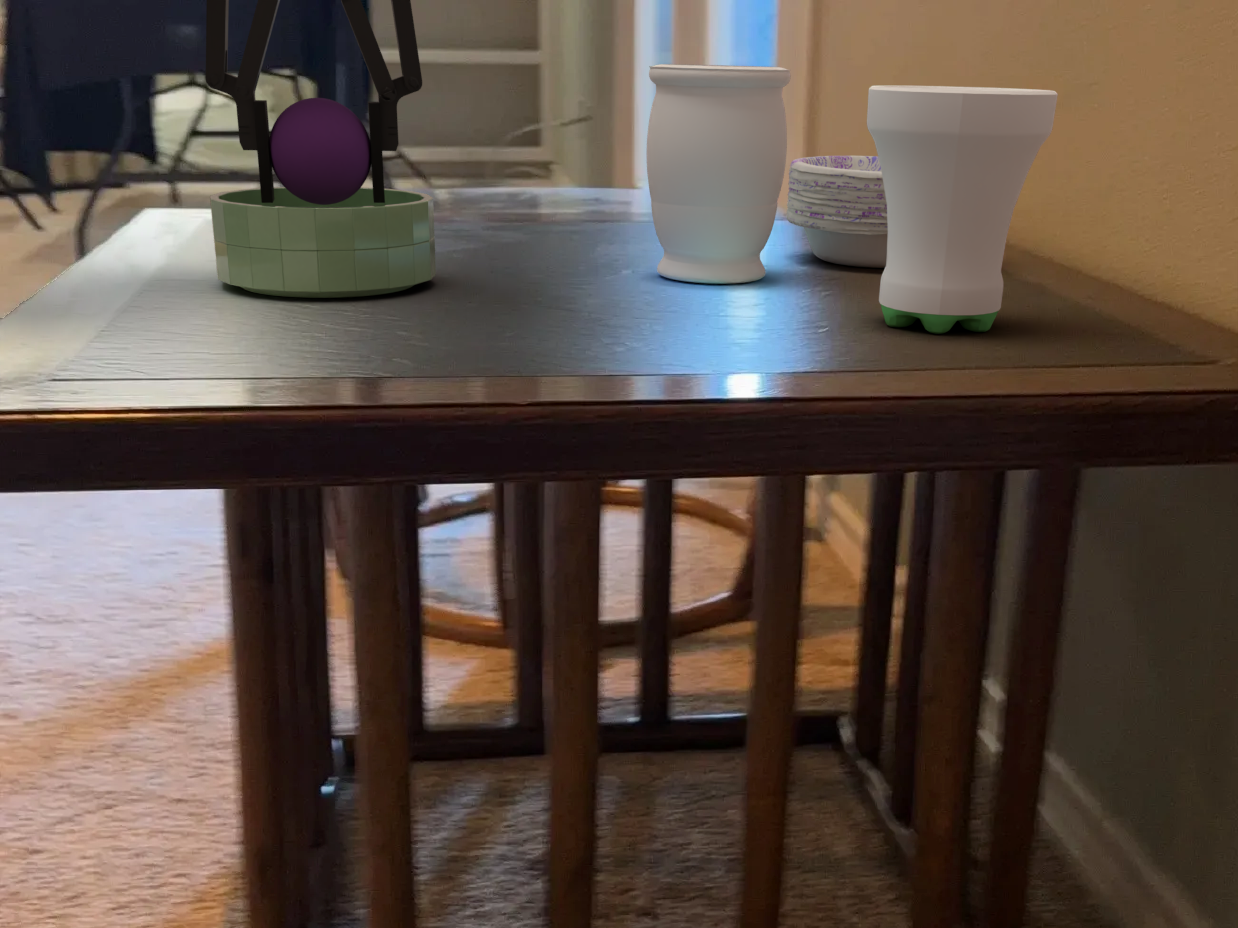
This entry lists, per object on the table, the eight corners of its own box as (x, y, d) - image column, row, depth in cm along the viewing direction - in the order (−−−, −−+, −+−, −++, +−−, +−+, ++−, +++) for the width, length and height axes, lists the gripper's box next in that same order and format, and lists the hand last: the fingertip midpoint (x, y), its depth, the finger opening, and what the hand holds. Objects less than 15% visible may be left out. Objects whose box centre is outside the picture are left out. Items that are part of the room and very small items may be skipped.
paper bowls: (932, 280, 107) (943, 172, 104) (754, 262, 114) (759, 161, 110) (989, 258, 119) (1000, 161, 116) (825, 244, 126) (832, 152, 123)
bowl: (173, 291, 95) (163, 199, 92) (293, 263, 108) (287, 182, 106) (370, 308, 90) (364, 212, 88) (469, 276, 104) (467, 192, 101)
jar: (625, 268, 109) (629, 62, 103) (746, 265, 112) (757, 65, 106) (670, 289, 100) (677, 65, 94) (801, 285, 103) (815, 68, 97)
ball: (253, 206, 95) (243, 97, 92) (307, 197, 101) (299, 94, 98) (342, 211, 93) (335, 100, 90) (392, 202, 99) (387, 97, 96)
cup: (1022, 314, 93) (1051, 88, 88) (1031, 345, 83) (1065, 92, 78) (854, 305, 95) (873, 84, 90) (843, 334, 85) (864, 86, 80)
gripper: (127, -193, 83) (170, 206, 92) (459, -177, 86) (469, 206, 95) (143, -175, 90) (182, 195, 99) (450, -161, 93) (461, 195, 102)
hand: (323, 200), depth 97 cm, fingers closed on ball, 7 cm apart
